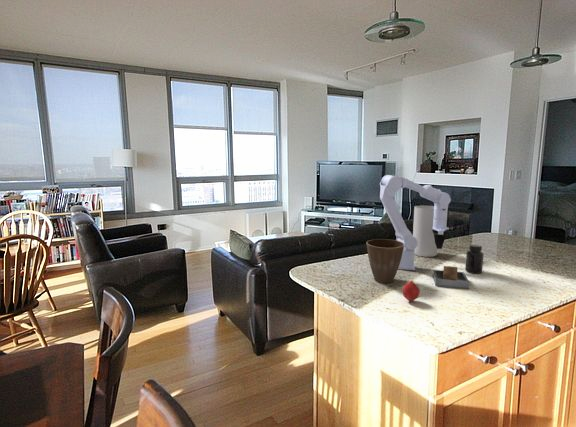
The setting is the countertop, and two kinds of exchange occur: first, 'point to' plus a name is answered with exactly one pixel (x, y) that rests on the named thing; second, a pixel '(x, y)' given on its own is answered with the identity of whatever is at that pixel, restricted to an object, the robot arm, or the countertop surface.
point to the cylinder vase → (424, 231)
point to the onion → (410, 291)
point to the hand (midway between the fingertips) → (438, 246)
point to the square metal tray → (450, 280)
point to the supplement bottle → (474, 259)
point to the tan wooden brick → (450, 272)
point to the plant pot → (384, 258)
